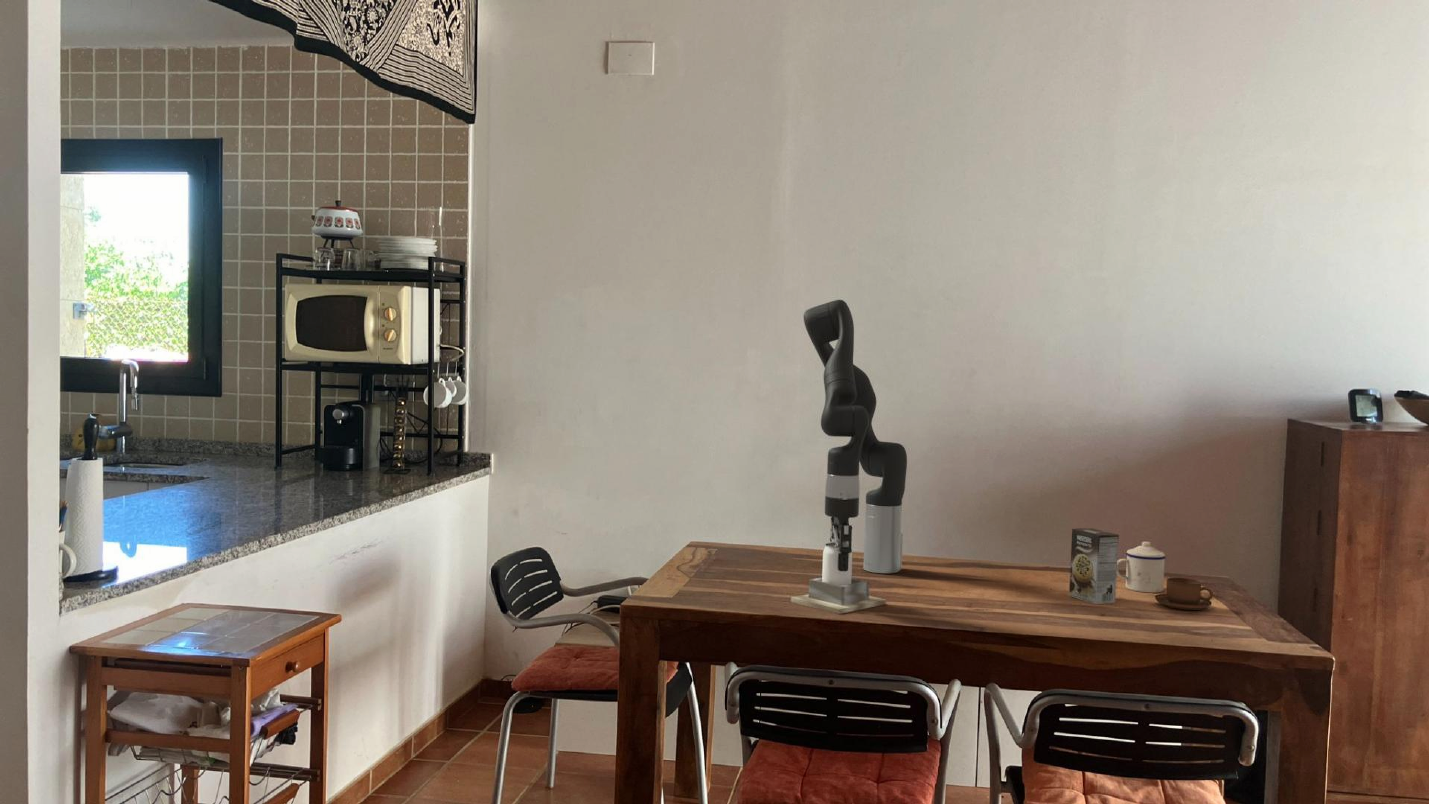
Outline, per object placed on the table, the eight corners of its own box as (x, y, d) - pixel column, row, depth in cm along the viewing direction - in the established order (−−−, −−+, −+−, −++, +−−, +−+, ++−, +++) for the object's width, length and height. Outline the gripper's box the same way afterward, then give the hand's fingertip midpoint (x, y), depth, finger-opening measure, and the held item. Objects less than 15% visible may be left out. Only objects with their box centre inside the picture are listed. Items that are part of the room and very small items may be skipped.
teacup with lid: (1155, 586, 279) (1158, 539, 278) (1169, 593, 270) (1172, 546, 269) (1107, 584, 279) (1109, 538, 278) (1120, 592, 270) (1122, 544, 269)
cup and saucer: (1204, 604, 260) (1206, 577, 260) (1216, 615, 249) (1218, 588, 248) (1150, 600, 263) (1151, 574, 263) (1159, 611, 251) (1161, 584, 251)
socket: (837, 592, 260) (838, 571, 259) (885, 604, 249) (886, 581, 249) (790, 602, 249) (791, 579, 248) (839, 614, 238) (839, 590, 238)
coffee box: (1067, 596, 264) (1070, 528, 263) (1088, 594, 266) (1092, 527, 265) (1094, 604, 255) (1098, 534, 254) (1116, 603, 258) (1120, 533, 257)
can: (850, 595, 252) (851, 543, 252) (851, 602, 246) (853, 548, 245) (821, 594, 253) (823, 541, 252) (821, 600, 246) (823, 546, 246)
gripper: (820, 490, 255) (818, 560, 256) (830, 498, 241) (827, 573, 241) (853, 491, 255) (850, 561, 256) (864, 499, 241) (862, 573, 242)
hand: (839, 567), depth 249 cm, fingers open, 8 cm apart
